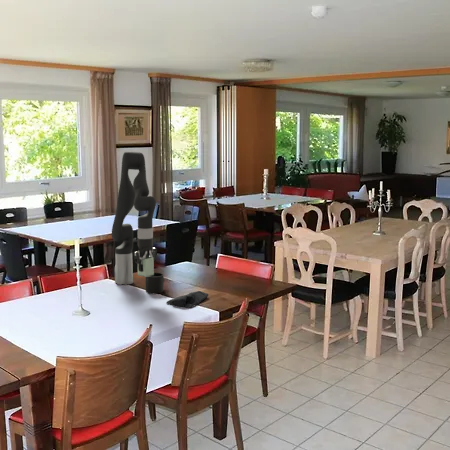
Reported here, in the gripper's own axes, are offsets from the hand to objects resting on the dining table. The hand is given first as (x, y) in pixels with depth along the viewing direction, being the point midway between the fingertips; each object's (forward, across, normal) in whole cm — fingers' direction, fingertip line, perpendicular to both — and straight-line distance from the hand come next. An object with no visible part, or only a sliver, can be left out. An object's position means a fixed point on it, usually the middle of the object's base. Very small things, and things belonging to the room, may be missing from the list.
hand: (145, 270), depth 277 cm
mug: (+16, -16, -9) cm, 24 cm away
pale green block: (+3, 0, 0) cm, 3 cm away
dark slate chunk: (+16, -13, +18) cm, 27 cm away
